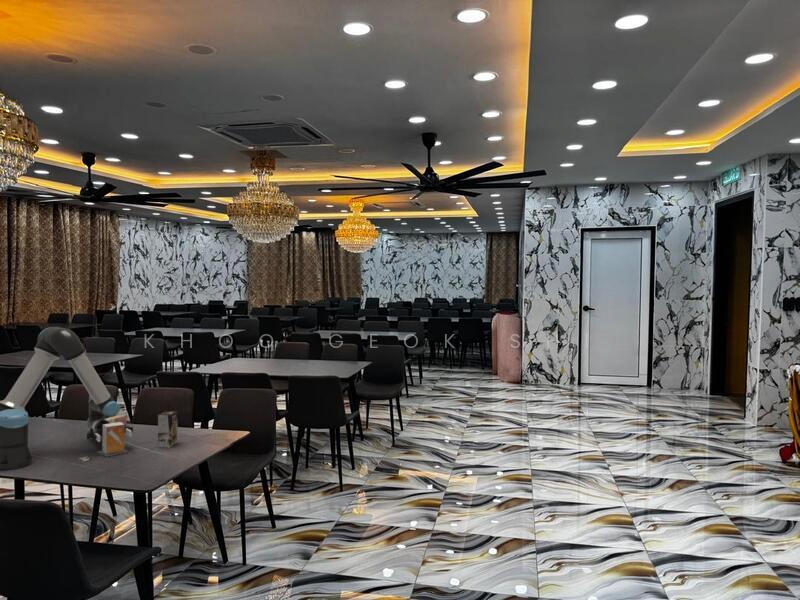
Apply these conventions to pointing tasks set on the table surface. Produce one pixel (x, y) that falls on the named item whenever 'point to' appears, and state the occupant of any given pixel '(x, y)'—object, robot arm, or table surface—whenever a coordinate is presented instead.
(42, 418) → the table surface
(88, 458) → the tiles
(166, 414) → the coffee box
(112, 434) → the small box
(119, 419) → the snack package
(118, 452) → the gray slab
